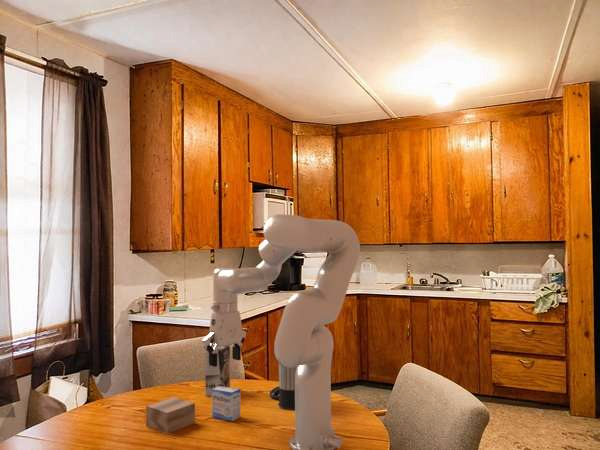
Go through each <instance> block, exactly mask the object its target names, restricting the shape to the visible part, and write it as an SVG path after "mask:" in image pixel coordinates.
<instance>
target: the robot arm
mask: <svg viewBox="0 0 600 450" xmlns="http://www.w3.org/2000/svg"><path fill="white" fill-rule="evenodd" d="M262 232H263V237H264V240H263V241H262V242H261V243H260V244H259V246H258V253H259V256H260V258H261V259H262V261H261V262H260V263H259V264H258V265H257V266H255V267H243V268H234V267H233V268H232V267H220V268H216V269H214V271H213V277H212V278H213V281H212V283H213V292H212V293H213V294H212V295H213V296H212V297H213V298H212V299H213V301H212V305H211V307H210V309H211V310H212V311H213V312H212V313H211V316H210V323H209V334H208V335H206V336H205V337H204V338H203V339H202V340H201V341H202V342H201V343H202V344H203V347H204V349H205V350H207V352H208V353H209V365H210V366H214V367H217V353H216V351H217V349H218V348H219V346H221V347H222V346H231V345H233V346H232V359H233V360H236V361H241V360H242V359H241V358H242V356H241V354H242V352H241V350H242V347H243V344H244V342H245V338H246V336H247V331H245V330H244V329H243V328H242V318H241V314H240V311H239V310H238V296H239V294H246V293H247V294H248V293H254V292H255V293H256V292H260V291H263V290H264V289H266V288H268V286H269V285H271V284H272V283H273V282H274V281H275V280H277V278H278V277H279V275H280V273H281V270H282V268H283V267H282V265H283V264H284V263H285V262H286V261H287V260H288V259H289V258H290V257H292V256H293V255H294V254H295V253H296V252H301V253H307V254H308V253H309V254H317V253H320V254H321V253H322V254H324V253H328V256H327V258H326V259H325V260H324V261H323V263H322V265H321V266H320V268H319V270H318V272H317V275H316V279H315V282H314V284H313V285H312V287H311V288H310V289H309V288H308V289H305V290H303V289H302V290H299V291H297V292H295V293H294V294H292V295H291V296H290V298H289V299H288V301H287V303H286V305H285V306H284V310H283V311H282V316H281V319H280V323H279V326H278V328H277V331H276V334H275V339H274V343H273V344H274V345H273V351H274V355H275V358H276V359H275V360H277V363H278V362H279V363H280V364H281V365H283V366H285V367H289V368H292V367H297V368H296V373H295V410H294V417H295V418H294V420H295V423H294V428H295V433H294V435H292V436H291V437H290V439H289V446H290V448H291V450H335V449H336V448H337V449H341V447H342V445H343V440H344V439H343V438H344V437H342V436H339V435H336V433H335V432H336V431H335V430H336V428H334V427H332V402H331V401H332V399H331V398H332V397H331V395H332V393H331V391H332V390H331V389H332V388H331V387H332V386H331V385H332V383H331V381H332V380H331V378H332V377H331V373H332V371H331V369H332V368H331V367H332V360H333V354H334V353H333V352H334V337H333V334H332V332H331V330H329V328H328V327H327V326H325V325H329V324H331V323H333V322H335V321H336V320H337V319H338V317H339V315H340V312H341V310H342V307H343V304H344V302H345V298H346V296H347V293H348V289H349V285H350V284H351V283H350V282H351V279H352V278H353V274H354V271H355V269H356V267H357V264H358V261H359V257H360V253H361V251H360V249H361V246H360V241H359V238H358V234H357V233H356V231H355V229H353V227H352V226H350V225H349V224H348V223H346V222H344V221H340V220H335V219H320V218H319V219H317V218H306V217H303V216H301V215H297V214H284V213H283V214H282V213H280V214H275V215H272V216H271V217H269V218H268V219H267V220H266V222H265V224H264V226H263V231H262ZM213 347H214V348H213ZM279 363H278V364H279Z"/></svg>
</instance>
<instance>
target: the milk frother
mask: <svg viewBox="0 0 600 450" xmlns="http://www.w3.org/2000/svg"><path fill="white" fill-rule="evenodd" d="M277 363H278V386H276V387H273V389H271V390H270V391H269V397H270V398H272V399H274V400H278V407H279V408H281V409H283V410H289V411H290V410H291V411H292V410H293V411H295V373H296V368H297V367H292V368H289V367H285V366H283V365H281V364H280V363H279V362H278V361H277Z"/></svg>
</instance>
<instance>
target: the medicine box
mask: <svg viewBox="0 0 600 450" xmlns="http://www.w3.org/2000/svg"><path fill="white" fill-rule="evenodd" d="M211 397H212V399H211V417H212V418H213V419H218V420H225V421H230V422H233V421H236V420H237V419H239V418H241V389H240V388H236V387H235V388H233V387H230V388H229V387H222V386H219V387H216V388H214V389H213V390H212V396H211Z"/></svg>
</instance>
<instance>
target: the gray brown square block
mask: <svg viewBox="0 0 600 450" xmlns="http://www.w3.org/2000/svg"><path fill="white" fill-rule="evenodd" d="M195 405H196V404H195V402H191V401H188V400H185V399H181V398H178V397H175V396H173V397H169V398H167V399H163V400H161V401H157V402H154V403H152V404H149V405H146V406H145V407H146V408H145V409H146V410H145V417H146V418H145V420H146V421H145V422H146V423H145V425H146V427H148V428H151V429H154V430H156V431H159V432H162V433H164V434H171V433H172V432H174V431H177V430H180V429H182V428H184V427H185V428H186V427H187V426H189V425H192V424H195V423H196V406H195Z"/></svg>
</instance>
